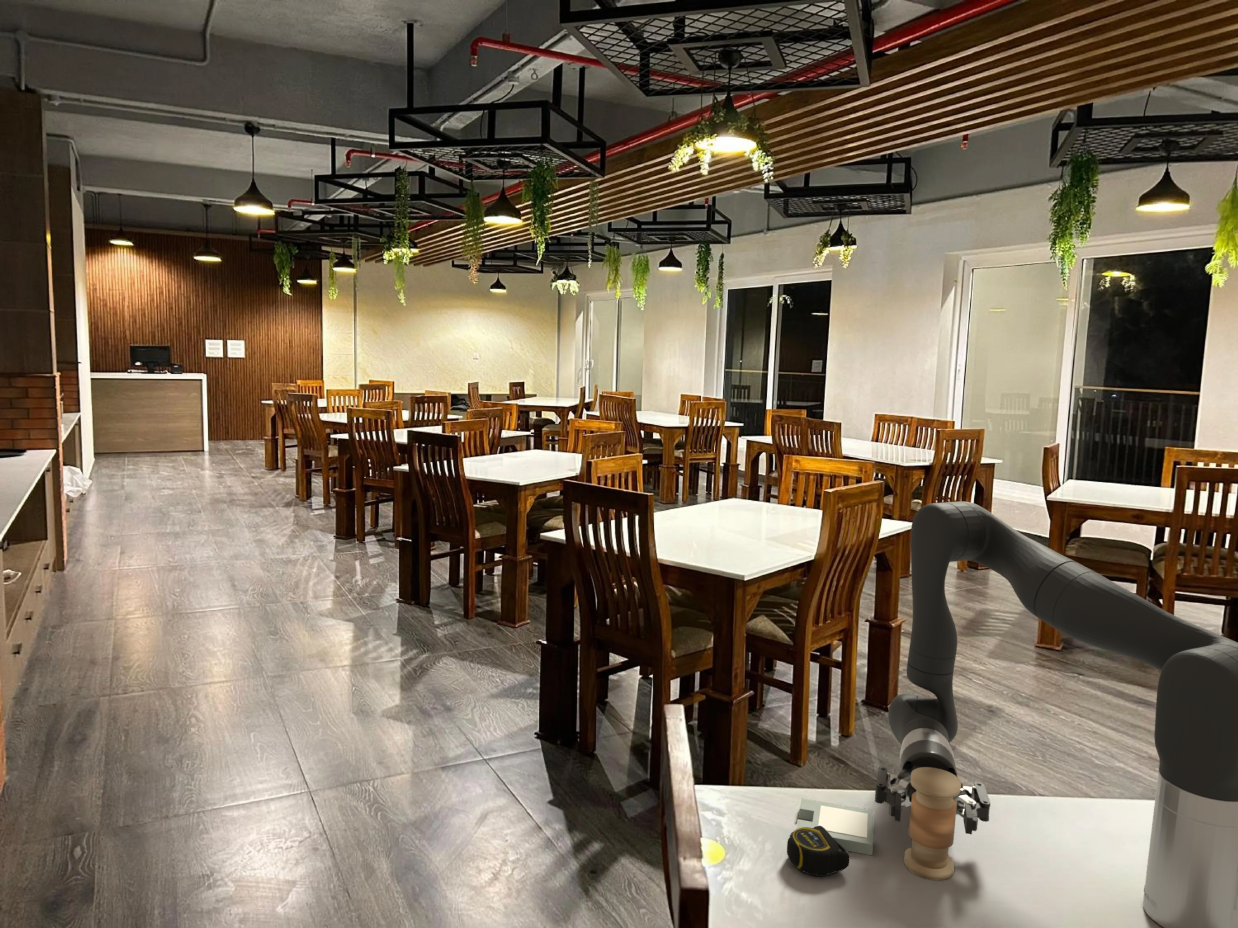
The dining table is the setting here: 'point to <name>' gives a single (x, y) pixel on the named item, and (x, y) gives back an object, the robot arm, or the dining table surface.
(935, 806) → the bobbin
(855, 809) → the plate
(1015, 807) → the dining table surface
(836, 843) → the tape measure
